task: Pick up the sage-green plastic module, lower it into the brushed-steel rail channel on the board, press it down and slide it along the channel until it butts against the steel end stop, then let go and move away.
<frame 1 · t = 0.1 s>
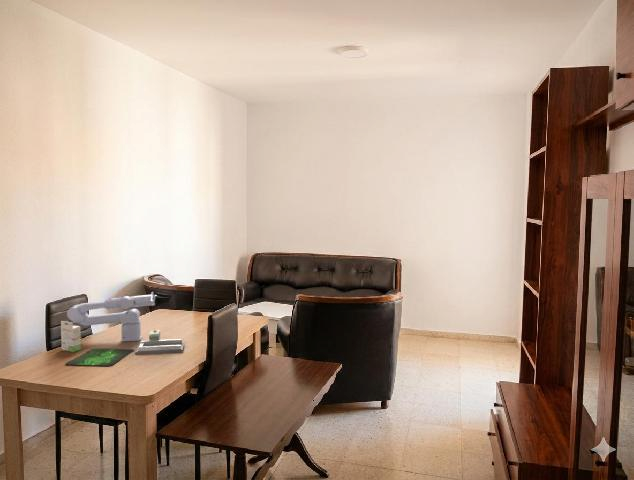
hand: (170, 298, 276), 22 cm above the table, tool horizontal, fingers open, 7 cm apart
module: (154, 343, 267), on the table
mounting board: (160, 349, 256), on the table
ink box: (71, 350, 254), on the table
rail: (160, 345, 256), on the mounting board, point 2 cm above the table
mouse mat: (101, 358, 243), on the table
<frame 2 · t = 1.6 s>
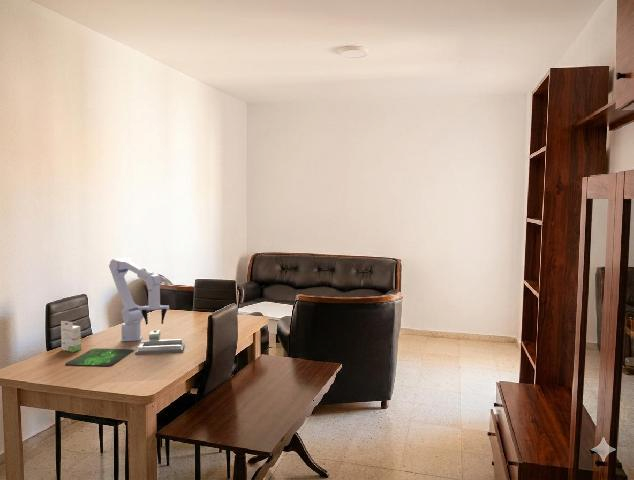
hand: (154, 323, 266), 10 cm above the table, tool pointing down, fingers open, 7 cm apart
nothing on the table moved.
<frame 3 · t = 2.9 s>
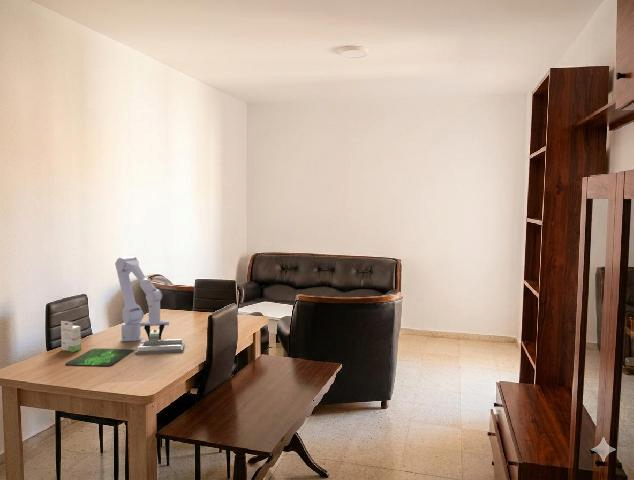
hand: (154, 339, 267), 2 cm above the table, tool pointing down, fingers closed on module, 5 cm apart
module: (154, 343, 267), on the table, touching gripper
everything else where it was.
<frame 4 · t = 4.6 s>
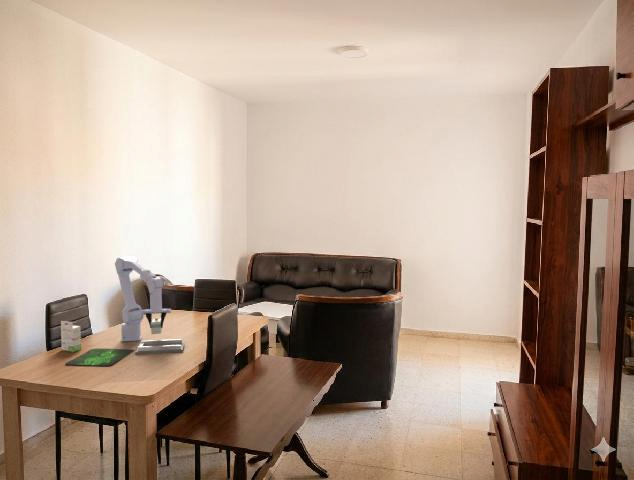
hand: (156, 327, 263), 9 cm above the table, tool pointing down, fingers closed on module, 5 cm apart
module: (156, 331, 263), point 7 cm above the table, touching gripper
everything else where it was.
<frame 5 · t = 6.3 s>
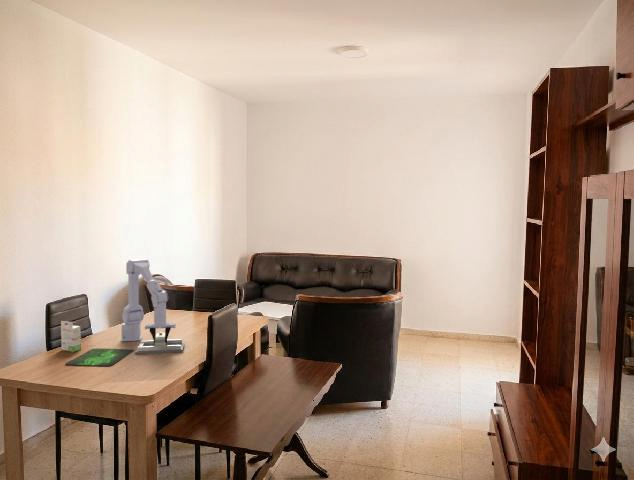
hand: (160, 342, 256), 3 cm above the table, tool pointing down, fingers closed on module, 5 cm apart
module: (160, 346, 256), point 1 cm above the table, touching gripper, mounting board
everything else where it was.
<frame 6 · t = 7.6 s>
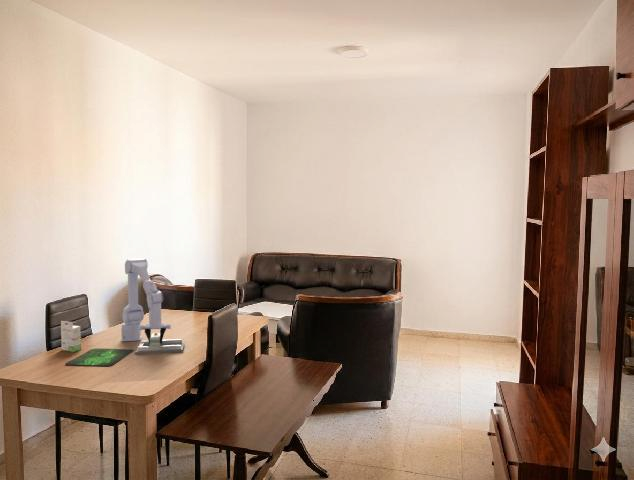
hand: (155, 343, 255), 3 cm above the table, tool pointing down, fingers closed on module, 5 cm apart
module: (155, 347, 256), point 1 cm above the table, touching gripper
everything else where it was.
when the fingers open (3 cm above the table, at t = 8.9 s): module stays where it is, resting on mounting board.
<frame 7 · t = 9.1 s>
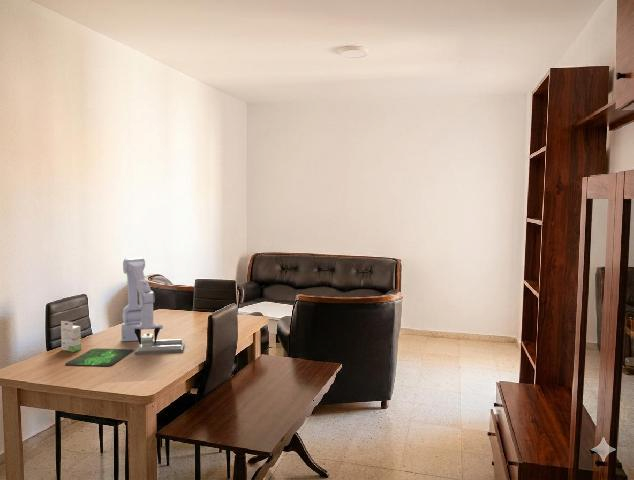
hand: (147, 343, 254), 3 cm above the table, tool pointing down, fingers open, 6 cm apart
module: (147, 347, 255), point 1 cm above the table, touching mounting board
everything else where it was.
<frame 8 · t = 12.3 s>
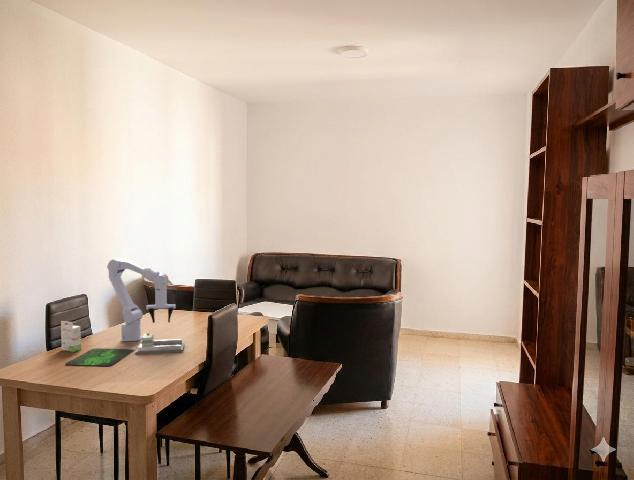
hand: (161, 322, 271), 10 cm above the table, tool pointing down, fingers open, 7 cm apart
nothing on the table moved.
at the end: module 0.3 cm from the target spot on the rail, point 1.2 cm above the rail's base; module tilted 0°; the gripper is holding nothing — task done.
